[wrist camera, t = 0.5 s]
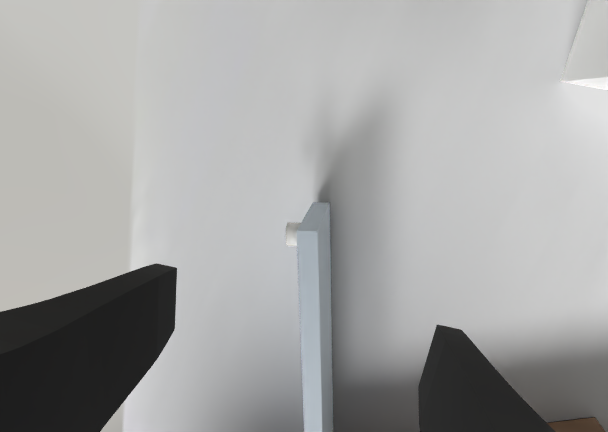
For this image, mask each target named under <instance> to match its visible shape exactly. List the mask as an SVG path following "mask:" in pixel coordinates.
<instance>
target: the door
mask: <svg viewBox="0 0 608 432" xmlns="http://www.w3.org/2000/svg"><path fill="white" fill-rule="evenodd" d="M286 245H287V246H297V256H298V282H299V309H300V335H301V362H302V388H303V414H304V432H333V380H332V315H331V250H330V203H320V202H313V204H312V205H311V207H310V209H309V211H308V212H307V214H306V216H305V217H304V219H303V221H302V223H287V226H286Z"/></svg>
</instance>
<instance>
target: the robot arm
mask: <svg viewBox="0 0 608 432" xmlns="http://www.w3.org/2000/svg"><path fill="white" fill-rule="evenodd" d="M176 279H177V268H175V267H170V266H165V265H161V264H153V265H149V266H146V267H143V268H140V269H137V270H134V271H131V272H128V273H126V274H123V275H120V276H117V277H115V278H112V279H109V280H106V281H104V282H101V283H98V284H95V285H92V286H89V287H86V288H83V289H80V290H77V291H74V292H71V293H68V294H64V295H61V296H58V297H55V298H52V299H49V300H45V301H42V302H38V303H35V304H31V305H27V306H23V307H19V308H15V309H11V310H7V311H2V312H0V432H100V431H101V430H102V428H103V427H104V426H105V424H106V423H107V422H108V420H109V419H110V418H111V417H112V416H113V414H114V413H115V412H116V410H117V409H118V408H119V407H120V406H121V404H122V403H123V402H124V401H125V399H126V398H127V397H128V395H129V394H130V393H131V392H132V390H133V389H134V388H135V387H136V385H137V384H138V383H139V382H140V380H141V379H142V378H143V377H144V375H145V374H146V373H147V371H148V370H149V369H150V368H151V366H152V365H153V364H154V362H155V361H156V360H157V358H158V357H159V355H160V353H161V352H162V350H163V348H164V347H165V345H166V343H167V342H168V340H169V338H170V336H171V335H172V333H173V331H174V329H175V305H176ZM419 425H420V432H556V431H555V430H553V429H552V428H551V427H550V426H549V425H548V424H547V423H546V422H545V421H544V420H543V419H542V418H541V417H540V416H539V415H538V414H537V413H536V412H535V411H534V410H533V409H532V408H531V407H530V406H529V405H528V404H527V403H526V402H525V401H524V400H523V399H522V398H521V397H520V396H519V395H518V394H517V392H516V391H515V390H514V389H513V388H512V387H511V386H510V385H509V384H508V383H507V382H506V381H505V379H504V378H503V377H502V376H501V375H500V374H499V373H498V371H497V370H496V369H495V368H494V367H493V366H492V365H491V363H490V362H489V361H488V360H487V359H486V358H485V356H484V355H483V354H482V353H481V352H480V351H479V349H478V348H477V347H476V346H475V345H474V344H473V342H472V341H471V340H470V339H469V338H468V337H467V335H466V334H465V333H464V332H463V331H462V330H460V329H455V328H451V327H446V326H442V325H437V327H436V330H435V333H434V337H433V340H432V343H431V347H430V350H429V353H428V357H427V360H426V363H425V367H424V370H423V373H422V377H421V380H420V383H419Z"/></svg>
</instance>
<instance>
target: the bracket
mask: <svg viewBox="0 0 608 432" xmlns="http://www.w3.org/2000/svg"><path fill="white" fill-rule="evenodd" d="M560 82H565V83H571V84H576V85H582V86H588V87H593V88H599V89H604V90H608V0H588V2H587V5H586V8H585V10H584V13H583V16H582V19H581V22H580V25H579V28H578V31H577V33H576V36H575V39H574V42H573V45H572V48H571V51H570V54H569V57H568V59H567V62H566V65H565V68H564V71H563V74H562V77H561V80H560Z"/></svg>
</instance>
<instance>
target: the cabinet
mask: <svg viewBox="0 0 608 432" xmlns="http://www.w3.org/2000/svg"><path fill="white" fill-rule="evenodd" d="M547 424H548V425H549V426H550V427H551V428H552V429H553V430H555V431H556V432H605V431H604V429H603V428H602V426H601V425H600V424H599V422H598V421H597V419H596V418H595V417H593V418H584V419H576V420H567V421H559V422H550V423H547Z"/></svg>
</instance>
